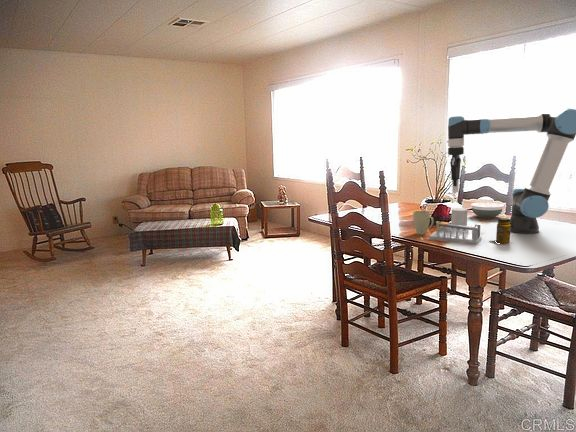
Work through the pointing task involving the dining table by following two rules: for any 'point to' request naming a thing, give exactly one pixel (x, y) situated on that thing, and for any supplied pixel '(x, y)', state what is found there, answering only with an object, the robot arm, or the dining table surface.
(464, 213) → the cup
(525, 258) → the dining table surface
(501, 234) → the condiment
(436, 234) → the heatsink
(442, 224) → the grey bar
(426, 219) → the mug
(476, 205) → the bowl
